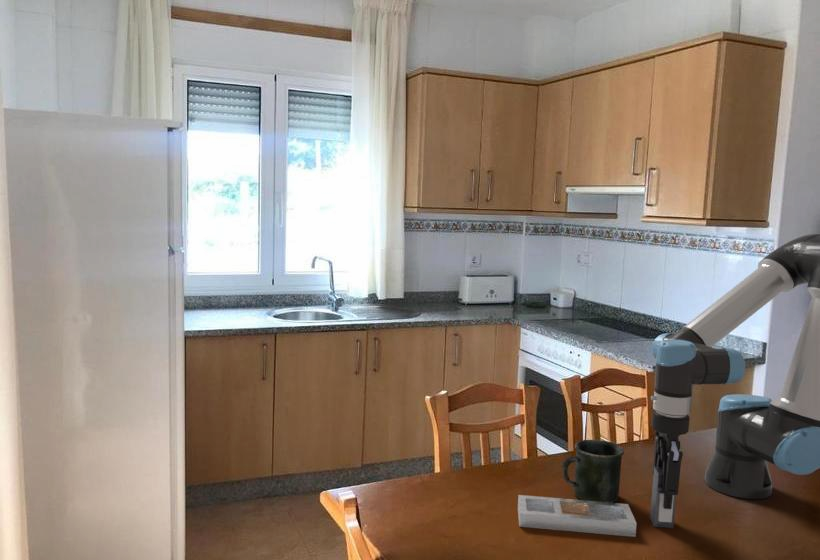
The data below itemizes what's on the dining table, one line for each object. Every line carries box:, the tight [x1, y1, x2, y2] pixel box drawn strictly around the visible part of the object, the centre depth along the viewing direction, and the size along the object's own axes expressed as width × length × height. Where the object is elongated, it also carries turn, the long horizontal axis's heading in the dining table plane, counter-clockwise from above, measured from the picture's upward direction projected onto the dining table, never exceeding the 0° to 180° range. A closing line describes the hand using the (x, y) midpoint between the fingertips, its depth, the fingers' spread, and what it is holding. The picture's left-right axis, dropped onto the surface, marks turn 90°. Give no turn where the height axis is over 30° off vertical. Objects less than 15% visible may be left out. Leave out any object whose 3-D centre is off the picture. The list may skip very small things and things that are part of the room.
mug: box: [561, 439, 625, 503], centre depth 160 cm, size 11×15×12 cm
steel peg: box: [649, 466, 677, 529], centre depth 148 cm, size 4×4×12 cm
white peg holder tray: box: [517, 494, 638, 538], centre depth 147 cm, size 24×9×3 cm, turn 83°
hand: (662, 515), depth 148 cm, fingers closed on steel peg, 4 cm apart
